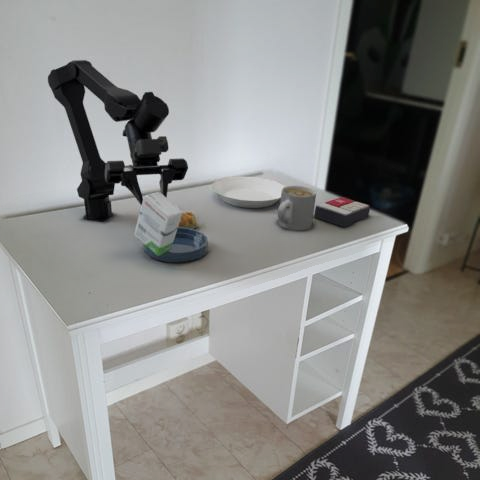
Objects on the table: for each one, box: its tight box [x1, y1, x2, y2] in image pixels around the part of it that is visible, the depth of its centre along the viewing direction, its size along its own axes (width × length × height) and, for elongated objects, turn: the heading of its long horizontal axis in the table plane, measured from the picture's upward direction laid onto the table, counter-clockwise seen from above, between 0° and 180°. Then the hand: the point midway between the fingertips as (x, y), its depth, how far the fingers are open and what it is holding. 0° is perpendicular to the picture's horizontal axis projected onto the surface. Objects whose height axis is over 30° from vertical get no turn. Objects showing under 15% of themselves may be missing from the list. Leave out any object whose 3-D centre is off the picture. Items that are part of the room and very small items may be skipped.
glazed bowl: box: [142, 227, 209, 264], centre depth 125 cm, size 16×16×3 cm
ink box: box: [133, 191, 184, 256], centre depth 114 cm, size 9×5×12 cm, turn 53°
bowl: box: [211, 176, 286, 209], centre depth 162 cm, size 25×25×4 cm
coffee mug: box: [277, 185, 317, 231], centre depth 142 cm, size 13×10×10 cm
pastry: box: [178, 211, 198, 230], centre depth 138 cm, size 9×7×4 cm
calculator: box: [313, 196, 371, 228], centre depth 152 cm, size 11×4×15 cm
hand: (153, 204), depth 113 cm, fingers closed on ink box, 5 cm apart
